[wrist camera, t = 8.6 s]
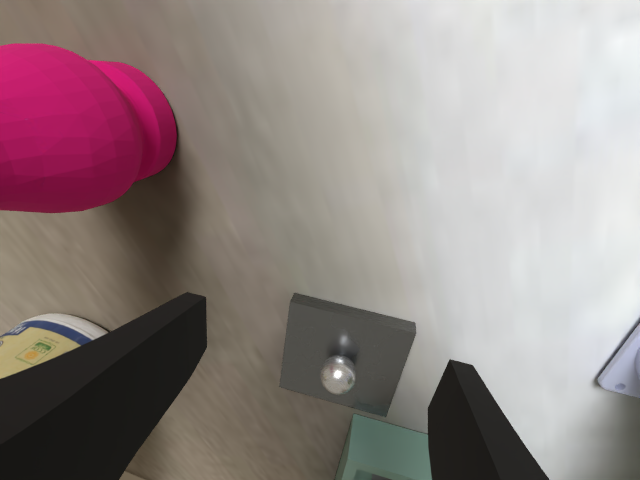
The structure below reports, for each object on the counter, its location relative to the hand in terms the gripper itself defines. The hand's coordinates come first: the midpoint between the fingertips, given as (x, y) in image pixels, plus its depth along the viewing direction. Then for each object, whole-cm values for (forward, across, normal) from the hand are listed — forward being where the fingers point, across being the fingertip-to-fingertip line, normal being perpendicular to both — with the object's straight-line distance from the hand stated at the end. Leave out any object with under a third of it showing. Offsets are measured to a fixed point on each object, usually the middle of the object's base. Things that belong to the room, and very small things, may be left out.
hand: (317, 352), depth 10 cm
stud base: (+10, -1, +10) cm, 14 cm away
